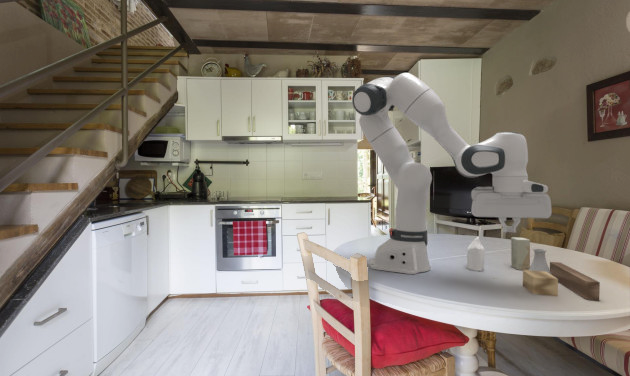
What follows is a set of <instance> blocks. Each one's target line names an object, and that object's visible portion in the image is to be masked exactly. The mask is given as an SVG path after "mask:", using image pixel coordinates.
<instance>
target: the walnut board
mask: <svg viewBox="0 0 630 376" xmlns="http://www.w3.org/2000/svg"><path fill="white" fill-rule="evenodd" d="M549 270H550V272H551V274H552V276H554V277H556V278H557V279H558V284H560V285H562V286H564V287H566V288H567V289H568V290H570V291H571V292H573V293H575V294H576V295H578V296H579V297H581V298H582V299H584V300H587V301H597V302H599V301H600V290H601V289H600V287H601V286H600V285H601V284H600V281H598V280H596V279H594V278H592V277H590V276H588V275H586V274H584V273H582V272H581V271H579V270H576V269H574V268H572V267H570V266H569V265H566V264H565V263H562V262H559V261H558V262H557V261H556V262H555V261H549Z"/></svg>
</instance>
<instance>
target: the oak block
mask: <svg viewBox="0 0 630 376" xmlns="http://www.w3.org/2000/svg"><path fill="white" fill-rule="evenodd" d="M522 286H523V287H524V288H525V289H526V290H527V291H529V292H530V293H531V294H532V295H538V296H539V295H542V296H551V297H553V296H554V297H559V288H558V287H559V282H558V279H557V278H556V277H554V276H552V275H551V274H549V273H547V272H545V271H530V270H522Z"/></svg>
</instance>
